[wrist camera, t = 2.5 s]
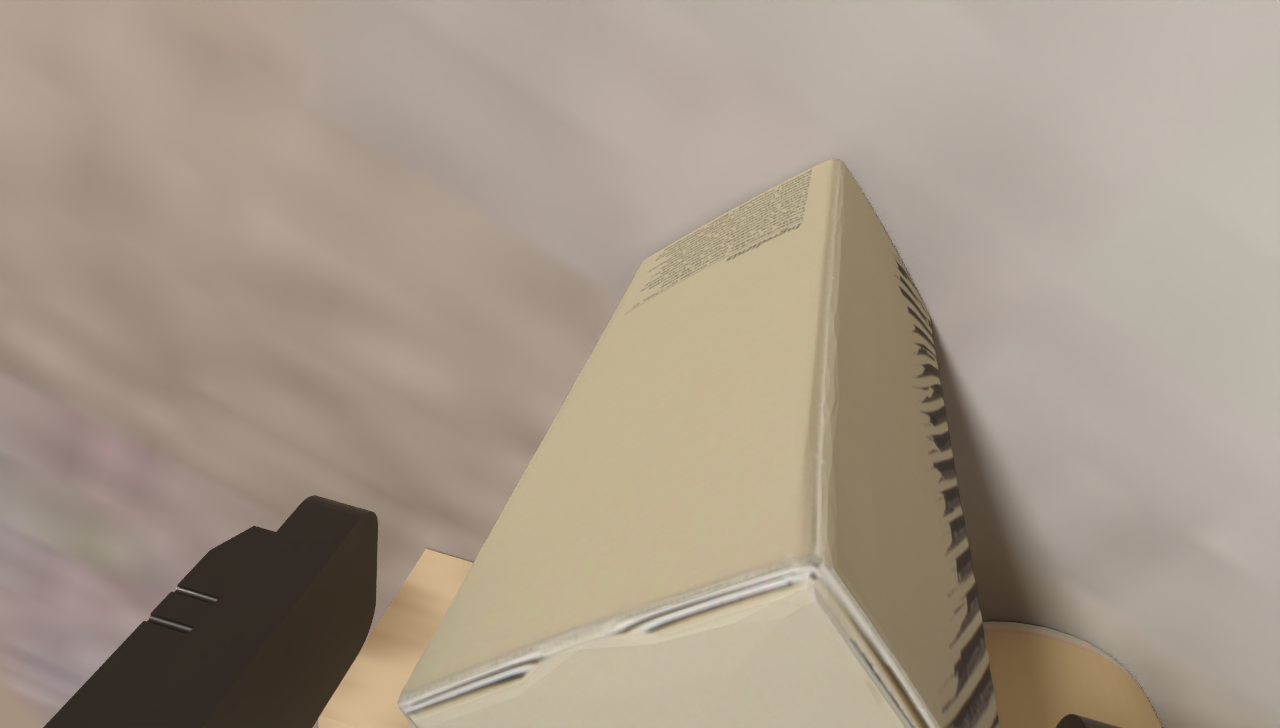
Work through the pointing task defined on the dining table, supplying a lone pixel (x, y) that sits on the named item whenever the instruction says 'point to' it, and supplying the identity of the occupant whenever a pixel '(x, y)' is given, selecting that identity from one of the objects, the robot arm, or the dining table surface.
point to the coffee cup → (1059, 680)
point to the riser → (396, 647)
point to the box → (734, 505)
